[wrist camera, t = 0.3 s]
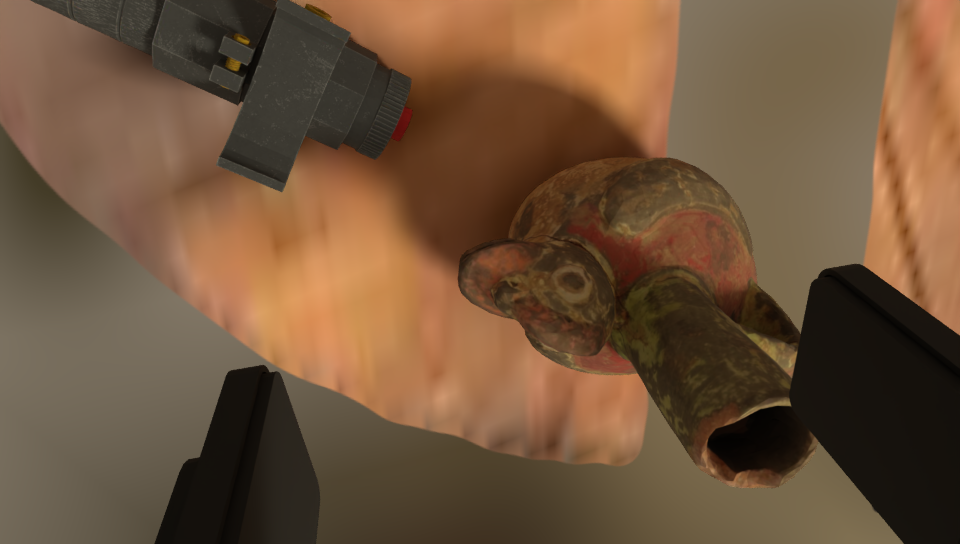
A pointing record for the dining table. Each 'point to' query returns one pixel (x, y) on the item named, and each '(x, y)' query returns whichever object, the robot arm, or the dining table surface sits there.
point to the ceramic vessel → (655, 306)
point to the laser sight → (263, 74)
